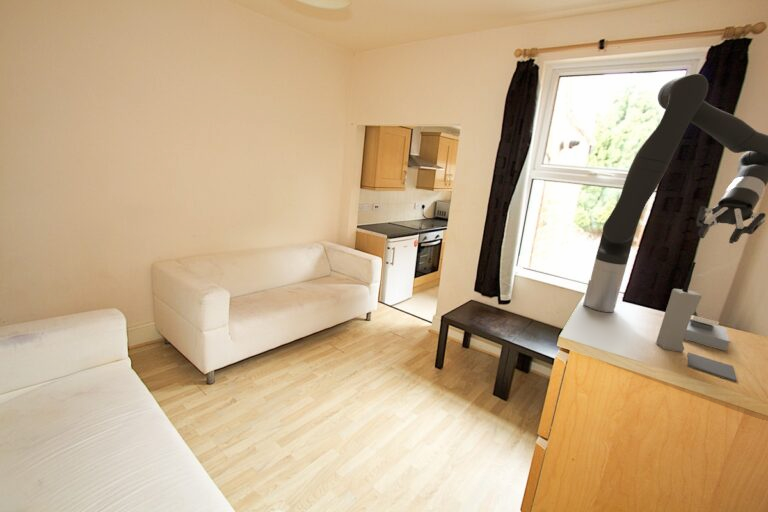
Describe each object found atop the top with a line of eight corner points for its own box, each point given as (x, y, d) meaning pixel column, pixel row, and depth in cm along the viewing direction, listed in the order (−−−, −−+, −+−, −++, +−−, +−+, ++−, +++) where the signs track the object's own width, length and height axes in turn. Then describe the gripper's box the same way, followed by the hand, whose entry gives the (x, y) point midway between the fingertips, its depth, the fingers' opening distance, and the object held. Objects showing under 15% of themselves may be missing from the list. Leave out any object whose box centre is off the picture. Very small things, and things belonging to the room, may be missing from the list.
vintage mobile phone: (683, 352, 96) (712, 265, 90) (662, 349, 97) (690, 262, 91) (675, 346, 100) (703, 261, 93) (655, 342, 101) (681, 259, 94)
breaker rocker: (692, 319, 104) (693, 315, 103) (688, 318, 113) (689, 315, 113) (717, 325, 100) (719, 321, 100) (711, 324, 110) (713, 321, 110)
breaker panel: (672, 335, 107) (676, 322, 106) (673, 323, 116) (677, 310, 115) (725, 350, 99) (731, 336, 98) (722, 336, 109) (726, 323, 108)
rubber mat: (687, 366, 89) (688, 364, 89) (687, 353, 96) (688, 352, 95) (736, 382, 83) (737, 380, 83) (732, 367, 90) (733, 366, 90)
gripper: (709, 184, 104) (683, 224, 100) (779, 189, 93) (753, 235, 89) (708, 202, 108) (684, 241, 105) (775, 209, 97) (750, 254, 93)
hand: (716, 238), depth 97 cm, fingers open, 5 cm apart
